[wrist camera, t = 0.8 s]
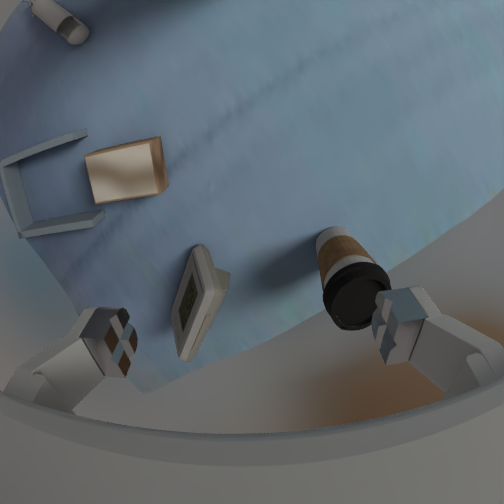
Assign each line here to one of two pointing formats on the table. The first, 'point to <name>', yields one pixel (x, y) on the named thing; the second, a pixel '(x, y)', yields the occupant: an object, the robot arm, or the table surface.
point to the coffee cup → (348, 279)
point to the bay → (19, 202)
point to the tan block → (127, 171)
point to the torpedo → (60, 20)
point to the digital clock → (197, 302)
